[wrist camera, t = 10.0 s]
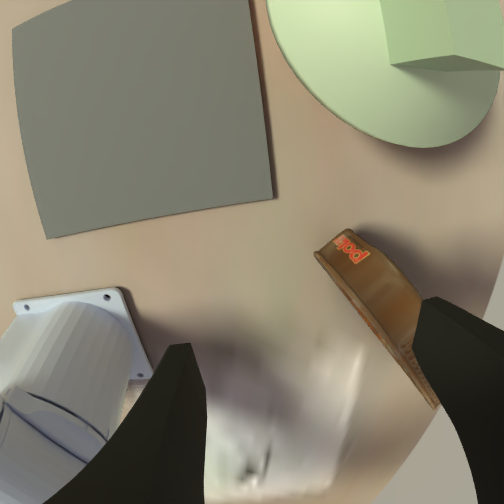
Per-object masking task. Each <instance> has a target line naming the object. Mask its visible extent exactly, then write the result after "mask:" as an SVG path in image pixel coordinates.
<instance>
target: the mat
mask: <svg viewBox="0 0 504 504" xmlns="http://www.w3.org/2000/svg"><path fill="white" fill-rule="evenodd" d="M12 50H13V71H14V85H15V95H16V104H17V112H18V119H19V126H20V132H21V138H22V144H23V149H24V154H25V159H26V164H27V169H28V173H29V177H30V182H31V186H32V190H33V194H34V198H35V201H36V205H37V209H38V212H39V216H40V219H41V222H42V226H43V229H44V232H45V235H46V238H47V239H51V238H56V237H60V236H64V235H69V234H74V233H78V232H83V231H88V230H92V229H97V228H102V227H107V226H112V225H117V224H122V223H127V222H132V221H138V220H143V219H148V218H154V217H159V216H165V215H171V214H176V213H182V212H188V211H194V210H200V209H206V208H212V207H219V206H225V205H231V204H238V203H245V202H251V201H258V200H265V199H273V193H272V184H271V175H270V166H269V157H268V148H267V139H266V131H265V122H264V114H263V106H262V98H261V90H260V82H259V74H258V67H257V59H256V52H255V45H254V37H253V30H252V23H251V16H250V10H249V3H248V0H71V1H69V2H67V3H64V4H62V5H59V6H57V7H55V8H53V9H50V10H48V11H46V12H44V13H42V14H40V15H38V16H36V17H34V18H32V19H30V20H28V21H26V22H24V23H22V24H20V25H18V26H16V27H15V28H13V29H12Z"/></svg>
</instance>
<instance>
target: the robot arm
mask: <svg viewBox="0 0 504 504" xmlns="http://www.w3.org/2000/svg"><path fill="white" fill-rule="evenodd" d="M105 294H108V295H109V296H110V297H111V298H107V297H106V296H105ZM27 305H28V306H29V307H28V306H27ZM13 308H14V311H15V313H16V315H17V316H16V318H15V319H14V320H13V322H12V323H11V324H10V326H9V327H8V328H7V330H6V331H5V333H4V334H3V335H2V337H1V338H0V504H205V503H204V464H205V446H206V429H207V405H206V389H205V386H204V383H203V380H202V377H201V374H200V371H199V368H198V365H197V362H196V359H195V356H194V352H193V349H192V346H191V343H184V344H174V345H170V346H169V347H168V348H167V350H166V352H165V354H164V355H163V357H162V359H161V361H160V363H159V364H158V366H157V368H156V370H155V371H154V372H153V369H152V367H151V365H150V363H149V360H148V358H147V356H146V353H145V351H144V348H143V346H142V344H141V341H140V339H139V336H138V334H137V331H136V329H135V326H134V324H133V321H132V319H131V316H130V313H129V311H128V308H127V305H126V302H125V300H124V297H123V294H122V292H121V290H119V289H118V288H116V287H112V288H105V289H97V290H90V291H83V292H76V293H69V294H61V295H54V296H46V297H39V298H31V299H24V300H17V301H15V302H14V304H13ZM412 350H413V353H414V355H415V357H416V360H417V362H418V364H419V366H420V368H421V371H422V373H423V374H424V376H425V378H426V379H427V381H428V383H429V384H430V386H431V388H432V389H433V391H434V393H435V394H436V396H437V398H438V399H439V401H440V402H441V404H442V406H443V407H444V409H445V411H446V413H447V414H448V416H449V417H450V419H451V421H452V423H453V425H454V427H455V429H456V431H457V433H458V436H459V438H460V441H461V443H462V446H463V448H464V451H465V454H466V457H467V460H468V463H469V466H470V469H471V473H472V477H473V481H474V485H475V489H476V494H477V500H478V504H504V331H503V330H501V329H499V328H496V327H495V326H493V325H491V324H489V323H487V322H485V321H484V320H482V319H480V318H478V317H476V316H474V315H472V314H471V313H469V312H467V311H465V310H463V309H461V308H459V307H457V306H456V305H454V304H452V303H450V302H448V301H446V300H443V299H441V298H439V297H434V298H430V299H426V300H422V303H421V308H420V313H419V318H418V322H417V327H416V331H415V335H414V339H413V344H412ZM140 373H142V374H140ZM139 379H150V380H149V382H148V383H147V385H146V387H145V388H144V390H143V391H142V393H141V395H140V396H139V398H138V400H137V401H136V403H135V404H134V406H133V407H132V409H131V410H130V411H129V413H128V414H127V416H126V417H125V419H124V420H123V422H122V423H121V424H120V426H119V423H120V418H121V413H122V409H123V404H124V400H125V395H126V391H127V387H128V382H129V380H139Z"/></svg>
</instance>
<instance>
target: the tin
mask: <svg viewBox="0 0 504 504" xmlns="http://www.w3.org/2000/svg"><path fill="white" fill-rule="evenodd" d="M313 254H314V256H315V258H316V260H317V261H318V262H319V264H320V265H321V266H322V267H323V269H324V270H325V271H326V272H327V273H328V275H329V276H330V277H331V278H332V280H333V281H334V282H335V283H336V285H337V286H338V287H339V289H340V290H341V291H342V292H343V294H344V295H345V296H346V297H347V299H348V300H349V301H350V302H351V304H352V305H353V306H354V308H355V309H356V310H357V311H358V313H359V314H360V315H361V317H362V318H363V319H364V321H365V322H366V323H367V324H368V326H369V327H370V328H371V330H372V331H373V332H374V333H375V335H376V336H377V337H378V339H379V340H380V341H381V342H382V344H383V345H384V346H385V348H386V349H387V350H388V352H389V353H390V354H391V355H392V357H393V358H394V359H395V360H396V362H397V363H398V364H399V365H400V367H401V368H402V369H403V371H404V372H405V373H406V374H407V376H408V377H409V378H410V380H411V381H412V382H413V384H414V385H415V386H416V388H417V389H418V390H419V392H420V393H421V394H422V396H423V397H424V398H425V400H426V401H427V402H428V404H429V405H430V406H431V408H432V409H433V410H435V409H436V407H437V406H438V405H439V404H440V403H441V402H440V401H439V399H438V398H437V396H436V394H435V393H434V391H433V389H432V388H431V386H430V384H429V383H428V381H427V379H426V378H425V376H424V374H423V373H422V371H421V368H420V366H419V364H418V362H417V360H416V357H415V355H414V353H413V350H412V344H413V339H414V335H415V331H416V327H417V322H418V318H419V313H420V308H421V303H422V300H423V299H422V297H421V296H420V295H419V293H418V292H417V290H416V289H415V287H414V286H413V285H412V284H411V282H410V281H409V280H408V279H407V277H406V276H405V275H404V274H403V272H402V271H401V270H400V269H399V268H398V267H397V266H396V265H395V264H394V263H393V262H392V261H391V260H390V259H389V258H388V257H387V256H386V255H385V254H384V253H383V252H381V251H380V250H379V249H377V248H376V247H374V246H372V245H370V244H369V243H367V242H366V241H365V240H363V239H362V238H361V237H359V236H358V235H357V234H355V233H354V232H353V231H352V230H351V229H349V228H348V229H345V230H344V231H342V232H341V233H340V234H338V235H337V236H336V237H335V238H333V239H332V240H331V241H330V242H329V243H327V244H326V245H325V246H324V247H323V248H322V249H320V250H319V251H315V252H314V253H313Z"/></svg>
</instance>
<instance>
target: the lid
mask: <svg viewBox="0 0 504 504" xmlns="http://www.w3.org/2000/svg"><path fill="white" fill-rule="evenodd" d="M266 8H267V13H268V17H269V22H270V26H271V29H272V31H273V34H274V37H275V39H276V42H277V44H278V46H279V48H280V50H281V52H282V54H283V56H284V58H285V60H286V62H287V63H288V65H289V66H290V68H291V69H292V70H293V72H294V74H295V75H296V77H297V78H298V79H299V80H300V81H301V83H302V84H303V85H304V86H305V87H306V89H307V90H308V91H309V92H310V93H311V94H312V95H313V96H314V97H315V98H316V99H317V100H318V101H319V102H320V103H321V104H322V105H323V106H324V107H325V108H326V109H328V110H329V111H330V112H331V113H333V114H334V115H335V116H336V117H338V118H339V119H340V120H342V121H344V122H345V123H347V124H348V125H350V126H351V127H353V128H355V129H357V130H359V131H361V132H363V133H365V134H367V135H369V136H371V137H374V138H377V139H380V140H383V141H386V142H390V143H394V144H399V145H403V146H408V147H419V148H429V147H439V146H442V145H446V144H450V143H452V142H454V141H457V140H459V139H461V138H463V137H464V136H465V135H467V134H468V133H470V132H471V131H472V130H473V129H474V128H475V127H476V126H477V125H479V124H480V122H481V121H482V120H483V118H484V117H485V116H486V114H487V112H488V111H489V109H490V107H491V105H492V103H493V100H494V98H495V95H496V92H497V88H498V84H499V78H500V71H504V22H503V17H502V13H501V9H500V5H499V1H498V0H266Z"/></svg>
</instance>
